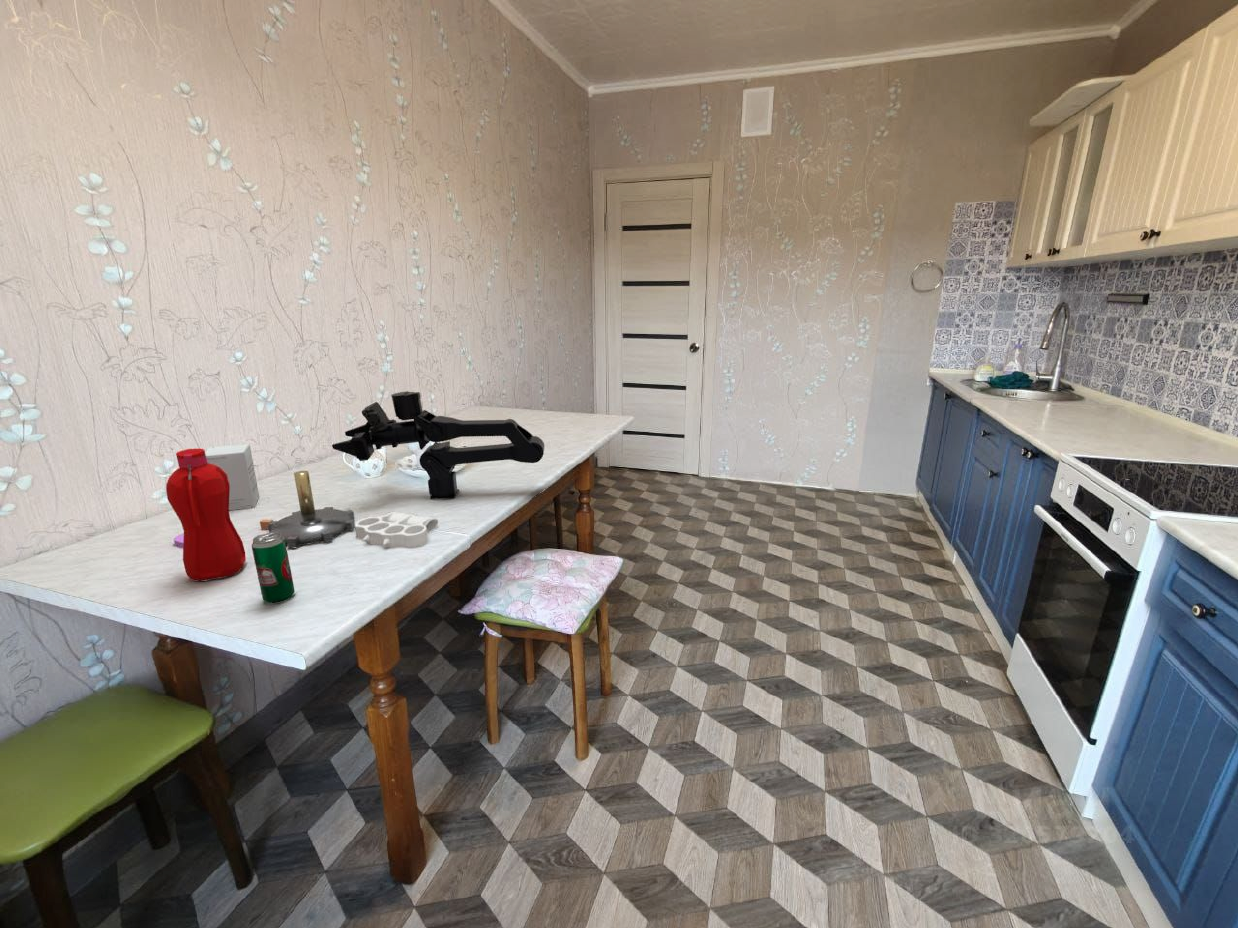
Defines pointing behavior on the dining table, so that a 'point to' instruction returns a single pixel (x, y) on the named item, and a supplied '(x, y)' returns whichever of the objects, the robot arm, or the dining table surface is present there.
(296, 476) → the sprocket
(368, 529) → the white brass knuckles
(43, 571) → the dining table surface
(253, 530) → the dining table surface
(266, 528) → the orange rectangular block
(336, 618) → the dining table surface
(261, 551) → the soda can
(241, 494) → the supplement box
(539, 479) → the dining table surface
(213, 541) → the water bottle
